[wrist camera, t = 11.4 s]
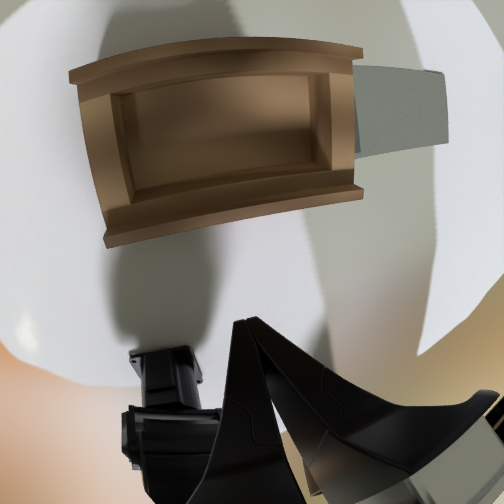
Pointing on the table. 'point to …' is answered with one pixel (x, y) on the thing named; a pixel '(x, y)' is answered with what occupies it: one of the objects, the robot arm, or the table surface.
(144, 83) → the walnut box
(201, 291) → the table surface
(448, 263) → the table surface
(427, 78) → the cover plate
